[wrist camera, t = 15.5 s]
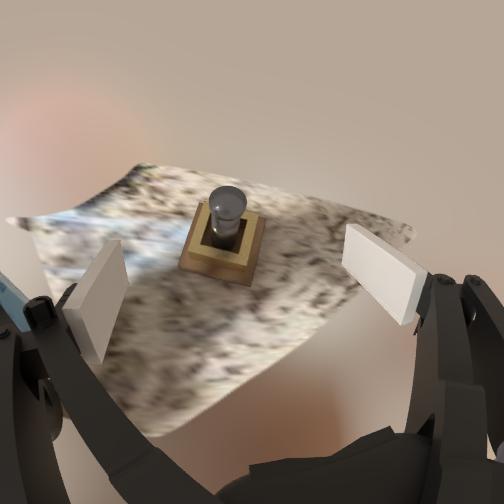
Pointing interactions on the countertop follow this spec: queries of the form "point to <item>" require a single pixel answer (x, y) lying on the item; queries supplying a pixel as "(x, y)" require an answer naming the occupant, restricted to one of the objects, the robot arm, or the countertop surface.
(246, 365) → the countertop surface
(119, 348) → the countertop surface
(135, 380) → the countertop surface
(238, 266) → the square socket frame
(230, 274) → the socket base
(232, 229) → the pin
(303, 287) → the countertop surface
